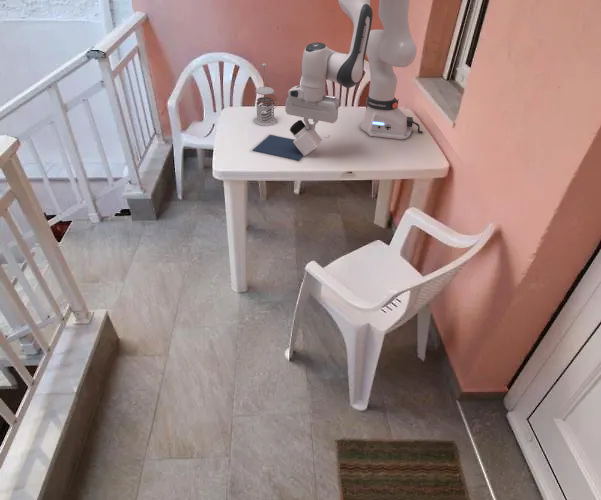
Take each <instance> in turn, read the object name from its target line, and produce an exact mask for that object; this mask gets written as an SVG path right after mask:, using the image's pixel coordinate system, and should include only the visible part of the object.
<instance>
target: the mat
mask: <svg viewBox="0 0 601 500" xmlns="http://www.w3.org/2000/svg"><path fill="white" fill-rule="evenodd" d="M294 140H295V139H292V138H289V137H284V136H277V135H274V134H269V135H268V136H267V137H266V138H265V139H263V140H262V141H261V142H260V143H259V144H258V145H256V147H254V148H253V149H252V151H253V152H257V153H261V154H267V155H270V156H276V157H280V158H284V159H288V160H294V161H297V162H299V161H300V160H301V159H302V158H303V157H304V156H303V154H302V153H301V152H300V151H299V149H298V148H297V147H296V145H295V144H294V143H293V141H294Z"/></svg>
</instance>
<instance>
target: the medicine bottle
mask: <svg viewBox="0 0 601 500" xmlns="http://www.w3.org/2000/svg"><path fill="white" fill-rule="evenodd" d="M289 132H290V133H291V134H292V136H293V137H294V138H295V139H293V140H294V141H293V143H294V144H295V145H296V147H297V148H298V149H299V151H300V152H301V153H302V154H303V157H306V156H307V155H308V154H310V153H311V152H313V151H314V150H315V149H317V148H318V147H319V145H320V144H321V143H322V142H323V139H322V138H321V136H320V134H319V133H318V132H317V131H316V129H315V130H314V131H313V130H309V129H306V124H305V122H304V120H302V119H299V120H297V121H296V122H294V123H293V124H292V125H291V126H290V127H289Z"/></svg>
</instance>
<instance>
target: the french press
mask: <svg viewBox="0 0 601 500" xmlns="http://www.w3.org/2000/svg"><path fill="white" fill-rule="evenodd" d="M261 67H262V68H263V79H264V80H263V81H264V84H263V85H264V86H259V87H258V88H256V89H255V93H256V94H258V95H261V96H262V97H261V96H260V97H258V98H257V99H256V101H257V102H256V118H255V120H254V123H255V124H257V125H260V126H273V125H274V124H276V123H277V120H276V119H275V109H276V108H277V107H278V105H279V102H277V101H275V103H274V99H273V98H272V97H273V96H275V97H276V98H279V96H278V95H279V94H277V93H276V92H275V90H274V89H273V88H272V87H270V86H266V72H265V71H266V70H265V69H266V67H267V64H266V62H265V63H262V64H261ZM269 95H271V96H272V97H268V96H269ZM276 103H277V104H276Z"/></svg>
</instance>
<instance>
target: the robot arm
mask: <svg viewBox="0 0 601 500" xmlns="http://www.w3.org/2000/svg"><path fill="white" fill-rule="evenodd" d="M337 1H338V5H339V7H340V9H341V10H342V11H343V13H344V14H345V15H346V16H347V17H348V18H349V19H350V20H351V22H352V25H353V31H352V38H351V42H350V47H349V52H348V54H344V53H341V52H339V51H336V50H333V49H331V48H329V47H328V46H327V45H326V44H325V42H324V43H323V42H310V43H308V44H307V45H306V46H305V47H304V49H303V53H302V60H301V74H302V78H301V82H300V85H295V86H293V87H291V88H289V90H288V91H287V95H288V97H287V98H286V99H285V107H284V109H285V110H284V111H285V113H286V115H290V116H294V117H299V118H303V123H304V124H305V125H306V129H309V130H313V131H314V130H315V131H316V125H317V124H318V122H319V121H320V122H324V123H330V124H335V123H336V122H337V121H338V119H339V108H340V100H339V99H338V97H336V96H332V95H327V94H326V81H327V80H329V81H330V82H333V83H336V84H338V85H340V86H342V87H344V88H345V89H351V88H353V87H355V86H357V84H359V83H360V82H361V80H362V78H363V76H364V70H365V69H364V67H365V58H366V57H367V61H368V66H369V75H370V76H369V77H370V80H369V88H368V95H367V96H366V101H365V112H364V117H363V119H362V122H361V124H360V129H361V130H362V131H363V132H365V133H367V134H368V136H369V137H375V138H376V137H377V138H386V139H395V140H406V139H408V138H409V137H410V136H411V135H412V128H413V125H415V126H417V132H418V134H423V130H420V129H421V126H420V124H419V123H418V122H415V121H414V117H413V116H407V115H406V114H405V113H404V112H403V111H402V110H401V109H400V108H399V107H398V106H399V98H398V99H397V98H396V92H397V84H398V77H397V74H396V73H395V71H394V68H407V67H409V66H410V65H411V64H412V63H413V62H414V61H415V58H416V56H417V52H418V51H417V45H416V43H415V42H414V40H413V38H412V35H411V31H410V24H409V9H410V8H409V7H410V0H379V1H378V10H377V14H378V15H377V16H378V18H379V20H380V22H381V24H382V27H383V29H372V22H373V16H374V14H373V13H374V12H373V8H372V7H371V0H337ZM309 120H312V122H313V123H310V121H309Z"/></svg>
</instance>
